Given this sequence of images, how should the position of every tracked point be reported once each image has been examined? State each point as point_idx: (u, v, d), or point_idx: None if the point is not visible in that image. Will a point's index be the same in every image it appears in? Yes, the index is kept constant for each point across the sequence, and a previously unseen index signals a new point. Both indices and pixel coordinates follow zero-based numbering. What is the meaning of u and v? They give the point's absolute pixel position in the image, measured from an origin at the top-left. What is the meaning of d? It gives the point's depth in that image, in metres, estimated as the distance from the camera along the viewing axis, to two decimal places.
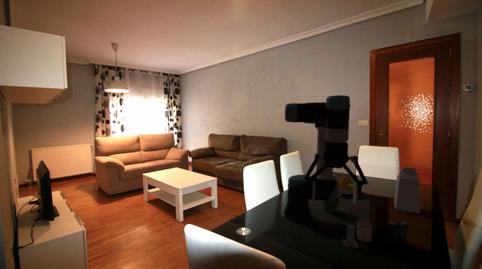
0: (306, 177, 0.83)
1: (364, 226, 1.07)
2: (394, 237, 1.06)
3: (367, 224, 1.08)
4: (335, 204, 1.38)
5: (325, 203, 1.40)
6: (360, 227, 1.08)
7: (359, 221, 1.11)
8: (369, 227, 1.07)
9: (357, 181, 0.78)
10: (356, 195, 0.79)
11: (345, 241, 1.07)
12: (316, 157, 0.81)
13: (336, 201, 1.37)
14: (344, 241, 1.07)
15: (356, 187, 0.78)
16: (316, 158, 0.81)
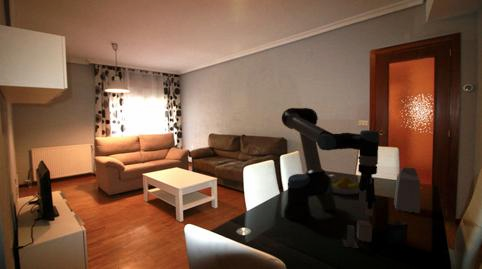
0: (359, 186, 1.18)
1: (364, 226, 1.07)
2: (394, 237, 1.06)
3: (367, 224, 1.08)
4: (330, 198, 1.41)
5: (321, 201, 1.43)
6: (360, 227, 1.08)
7: (359, 221, 1.11)
8: (369, 227, 1.07)
9: None
10: None
11: (345, 241, 1.07)
12: (361, 173, 1.14)
13: (330, 195, 1.42)
14: (344, 241, 1.07)
15: (366, 201, 1.02)
16: (361, 174, 1.14)
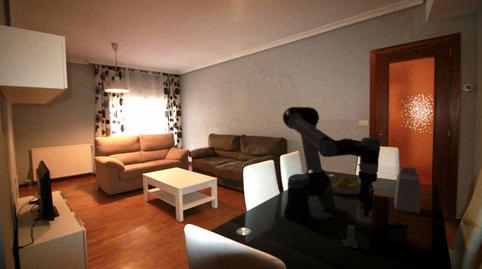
0: (359, 198, 1.15)
1: None
2: (394, 237, 1.06)
3: None
4: (330, 197, 1.41)
5: (321, 201, 1.43)
6: (360, 209, 1.08)
7: (359, 203, 1.11)
8: None
9: (364, 205, 1.06)
10: (362, 215, 1.07)
11: (345, 241, 1.07)
12: None
13: (330, 194, 1.42)
14: (344, 241, 1.07)
15: (363, 209, 1.07)
16: None
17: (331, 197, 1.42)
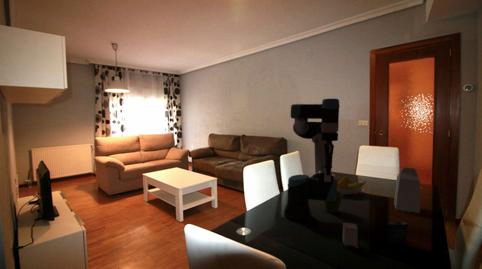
0: None
1: (349, 229, 1.02)
2: (394, 237, 1.06)
3: (353, 227, 1.03)
4: (336, 204, 1.37)
5: (326, 203, 1.40)
6: (345, 230, 1.02)
7: (345, 224, 1.06)
8: (355, 230, 1.01)
9: None
10: (324, 174, 1.11)
11: None
12: None
13: (338, 201, 1.37)
14: None
15: (325, 168, 1.11)
16: None
17: (338, 204, 1.38)
